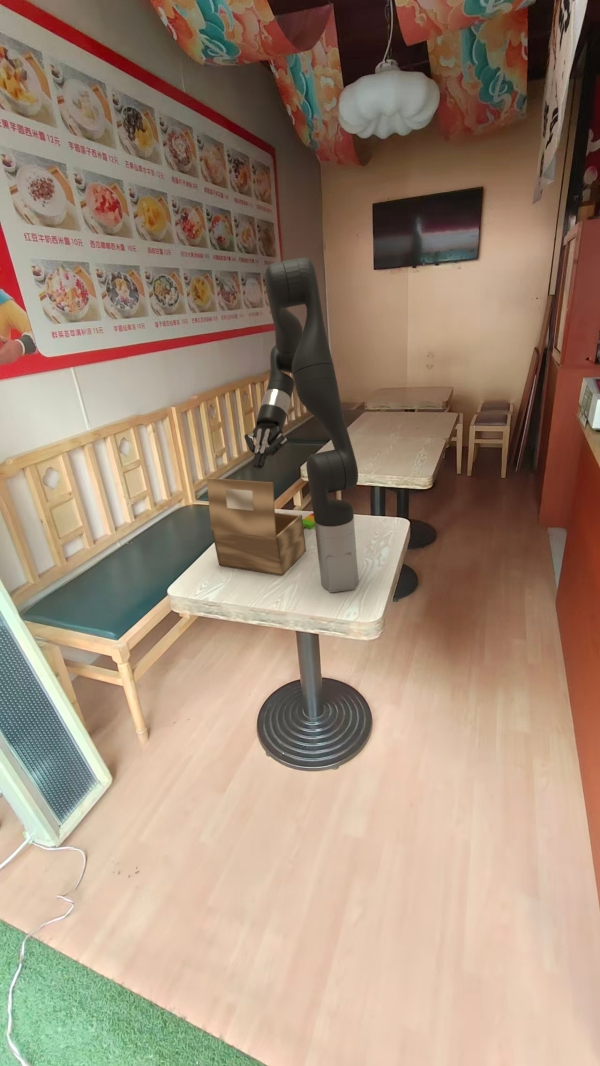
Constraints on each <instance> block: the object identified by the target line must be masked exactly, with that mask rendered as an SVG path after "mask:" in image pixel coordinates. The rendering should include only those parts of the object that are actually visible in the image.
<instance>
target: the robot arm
mask: <svg viewBox="0 0 600 1066" xmlns="http://www.w3.org/2000/svg"><path fill="white" fill-rule="evenodd" d="M264 275H265V277H264V278H265V288H266V294H267V299H268V304H269V309H270V313H271V314H270V315H271V318H272V321H273V327H274V333H275V335H274V336H275V344H274V346H273V347H272V348H271V350H270V354H269V355H270V358H269V363H270V371H269V372H270V375H269V380H268V384H267V387H266V390H265V394H264V395H263V398H262V401H261V404H260V407H259V411H258V414H257V416H256V422H255V423H256V424H255V427H254V428H253V430H252V432H251V433H249V434H248V433H246V434H244V436H243V437H244V440H245V442H246V444H247V445H246V446H247V447H248V449H249V451H250V452H251V453H252V454H253V455H254V456H253V460H252V464H251V465H252V468H254V469H255V470H259V471H260V470H262V468H264V466H265V464H266V460H267V458H268V457H269V456H271V457H272V456H275V455H276V454H277V453H278V452H279V451H280V450H281V449H282V448H283V447H284V446H285V445H286V444H288V442H289V441H288V439H287V438H286V436H285V435H284V434H283V431H284V428H285V425H286V421H287V417H288V413H289V409H290V405H291V403H290V402H291V398H292V396H293V392H294V388H295V391H296V394H297V395H296V396H297V397H298V399H299V401H300V402H301V404H302V405H303V406H304V407H305V408H306V409H307V411H309V413H310V414H312V415H313V416H314V417H315V419H316V420H317V421H318V422H319V423H320V424H321V425H322V427H323V428H324V429H325V431H326V432H327V434H328V436H329V438H330V440H331V443H332V446H333V449H332V450H331V449H330V450H326V451H319V452H316V453H312V454H309V455H308V457H307V458H306V459H307V460H306V464H305V466H306V474H307V481H308V486H309V487H308V488H309V492H310V499H311V500H310V501H311V506H312V507H311V508H312V513H313V514H314V522H315V527H314V529H315V531H314V532H315V539H316V548H317V549H316V550H317V556H318V557H317V558H318V566H319V567H318V568H319V574H320V584H321V586H322V587H323V589H325V590H327V591H329V593H337V592H345V591H352V590H356V586H357V585H358V583H359V570H358V569H359V568H358V557H357V556H358V555H357V554H358V553H357V543H356V532H355V531H356V530H355V517H354V515H355V514H354V507H353V505H352V504H351V503H350V502H348V501H346V500H342V499H335V498H331V497H329V495H328V494H331V493H334V492H340V491H345V490H348V489H353V488H355V487H356V486H357V484H358V482H359V469H358V468H359V467H358V463H357V459H356V456H355V455H356V454H355V453H354V449H353V445H352V441H351V437H350V436H349V432H348V428H347V425H346V421H345V416H344V413H343V408H342V402H341V397H340V392H339V386H338V381H337V380H338V379H337V375H336V372H335V371H336V370H335V366H334V362H333V358H332V354H331V350H330V345H329V341H328V340H329V339H328V337H327V332H326V327H325V322H324V317H323V310H322V301H321V297H320V296H321V295H320V288H319V283H318V282H319V281H318V277H317V273H316V269H315V266H314V263H313V261H312V260H311V259H310V258H309V257H297V258H292V259H287V260H281V261H277V262H274V263H271V264H269V265H268V266H267V267H266V270H265V274H264ZM302 305H305V308H306V318H305V323H304V326H302V323H301V321H300V320H299V318H298V317H297V316H296V315H295V314H294V313H293V312H291V311H290V310H289V309H288V308H291V307H296V306H302ZM286 373H289V374H292V377H291V376H290V375H289V374H286Z"/></svg>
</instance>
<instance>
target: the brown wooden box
mask: <svg viewBox="0 0 600 1066" xmlns="http://www.w3.org/2000/svg"><path fill="white" fill-rule="evenodd" d="M302 519H303V515H302V514H291V513H283V512H275V527H276V537H275V538H273V537H265V536H257V535H249V534H241V533H233V532H225V531H217V530H211V533H212V537H213V542H214V543H213V544H214V546H215V547H214V548H215V553H216V557H217V562H218V566H219V565H220V566H219V567H225V568H230V569H231V568H232V569H237V570H243V571H249V572H250V571H251V572H255V573H262V574H263V573H264V574H269V575H275V576H280V577H281V576H282V577H283V576H284V575H285V574H286V573H287V572H288V571H289V570H290V569H291V567H293V566H294V564H296V562H297V561H298V560H299V559H301V557H302V556H303V555H304V554H305V553H306V552H307V549H306V548H307V545H306V539H305V530H304V529H305V528H303V521H302Z"/></svg>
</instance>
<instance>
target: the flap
mask: <svg viewBox="0 0 600 1066" xmlns="http://www.w3.org/2000/svg"><path fill="white" fill-rule="evenodd" d="M206 484H207V485H206V486H207V497H208V508H209V509H208V510H209V520H210V530H211V531H212V530H217V531H225V532H233V533H241V534H249V535H257V536H265V537H273V538H275V537H276V527H275V513H276V512H275V511H276V509H275V492H274V491H275V489H274V488H275V487H274V482H272V481H256V480H241V479H225V478H211V477H207V478H206Z"/></svg>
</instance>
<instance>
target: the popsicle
mask: <svg viewBox="0 0 600 1066" xmlns="http://www.w3.org/2000/svg"><path fill="white" fill-rule="evenodd" d="M302 521H303V529H307V528H308V530H312V529H314V528H315V522H314V514H313V512H312V513H311V514H309V515H307V516H305V517H302ZM304 527H305V528H304ZM313 527H314V528H313Z"/></svg>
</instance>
